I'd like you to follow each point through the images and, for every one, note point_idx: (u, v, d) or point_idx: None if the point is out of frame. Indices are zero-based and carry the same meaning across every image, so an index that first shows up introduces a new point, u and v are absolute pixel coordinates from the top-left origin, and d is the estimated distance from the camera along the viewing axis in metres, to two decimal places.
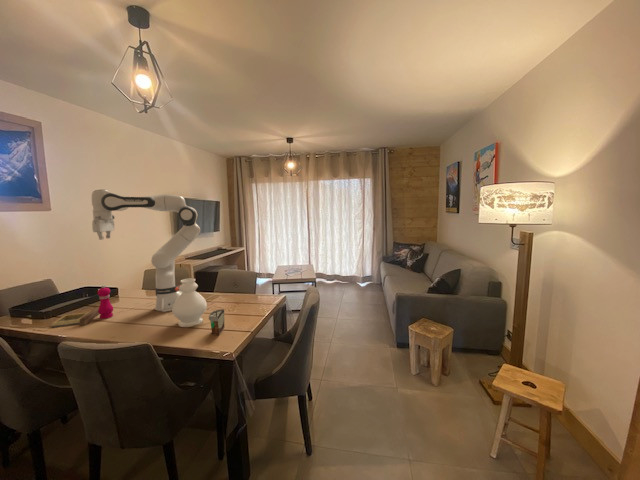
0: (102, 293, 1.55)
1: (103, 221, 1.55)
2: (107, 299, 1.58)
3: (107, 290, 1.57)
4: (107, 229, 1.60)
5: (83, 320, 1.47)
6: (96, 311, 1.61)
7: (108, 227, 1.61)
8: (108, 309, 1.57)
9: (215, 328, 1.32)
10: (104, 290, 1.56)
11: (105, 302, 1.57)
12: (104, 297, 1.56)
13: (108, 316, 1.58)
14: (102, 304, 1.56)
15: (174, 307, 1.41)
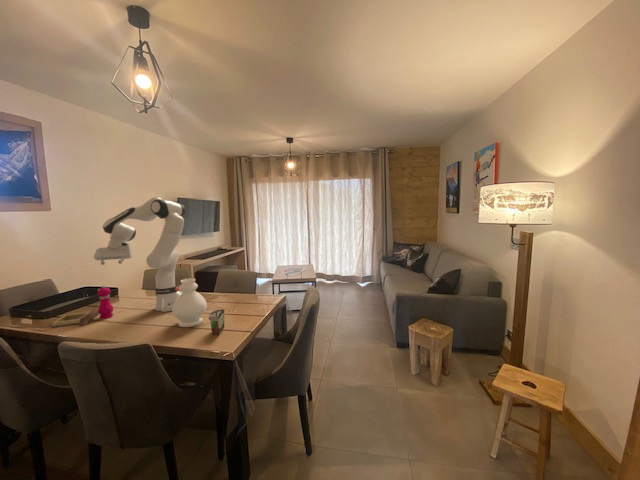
0: (102, 293, 1.55)
1: (105, 249, 1.73)
2: (107, 299, 1.58)
3: (107, 290, 1.57)
4: (111, 255, 1.72)
5: (83, 320, 1.47)
6: (96, 311, 1.61)
7: (114, 253, 1.73)
8: (108, 309, 1.57)
9: (215, 328, 1.32)
10: (104, 290, 1.56)
11: (105, 302, 1.57)
12: (104, 297, 1.56)
13: (108, 316, 1.58)
14: (102, 304, 1.56)
15: (174, 307, 1.41)
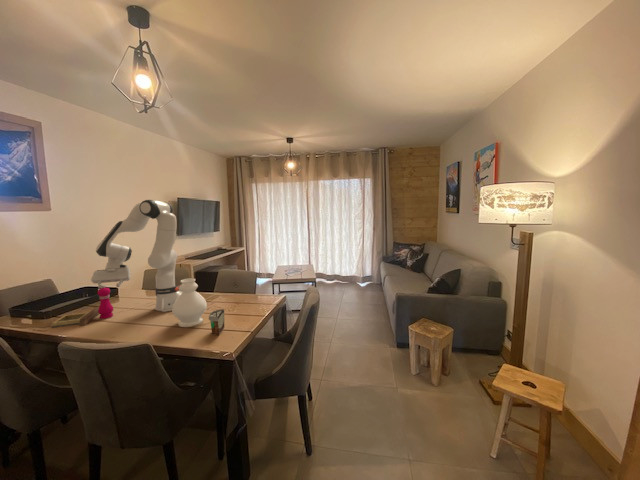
0: (102, 293, 1.55)
1: (103, 272, 1.68)
2: (107, 299, 1.58)
3: (107, 290, 1.57)
4: (109, 277, 1.67)
5: (83, 320, 1.47)
6: (96, 311, 1.61)
7: (112, 276, 1.68)
8: (108, 309, 1.57)
9: (215, 328, 1.32)
10: (104, 290, 1.56)
11: (105, 302, 1.57)
12: (104, 297, 1.56)
13: (108, 316, 1.58)
14: (102, 304, 1.56)
15: (174, 307, 1.41)
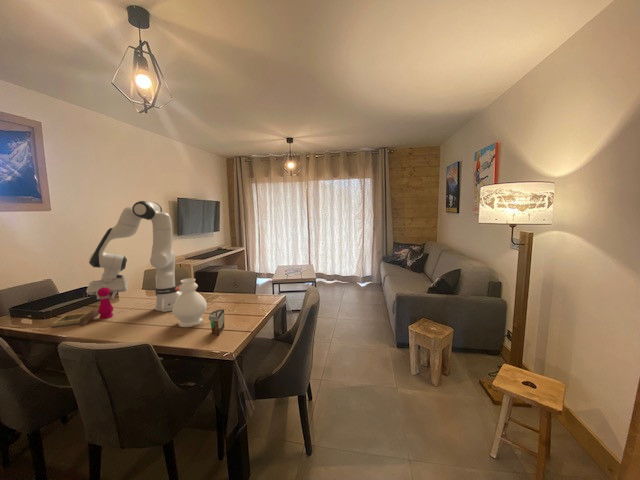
0: (102, 293, 1.55)
1: (99, 282, 1.62)
2: (107, 299, 1.58)
3: (107, 290, 1.57)
4: None
5: (83, 320, 1.47)
6: (96, 311, 1.61)
7: (109, 287, 1.62)
8: (108, 309, 1.57)
9: (215, 328, 1.32)
10: (104, 289, 1.56)
11: (105, 302, 1.57)
12: (104, 297, 1.56)
13: (108, 316, 1.58)
14: (102, 304, 1.56)
15: (174, 307, 1.41)
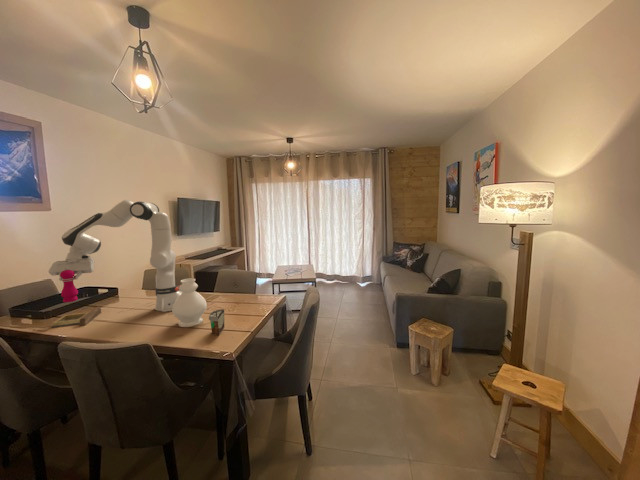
0: (64, 275, 1.48)
1: (63, 263, 1.55)
2: (71, 282, 1.51)
3: (70, 272, 1.50)
4: (69, 269, 1.54)
5: (83, 320, 1.47)
6: (96, 311, 1.61)
7: (73, 267, 1.55)
8: (71, 292, 1.50)
9: (215, 328, 1.32)
10: (67, 272, 1.49)
11: (68, 285, 1.50)
12: (67, 280, 1.49)
13: (72, 300, 1.51)
14: (65, 287, 1.50)
15: (174, 307, 1.41)
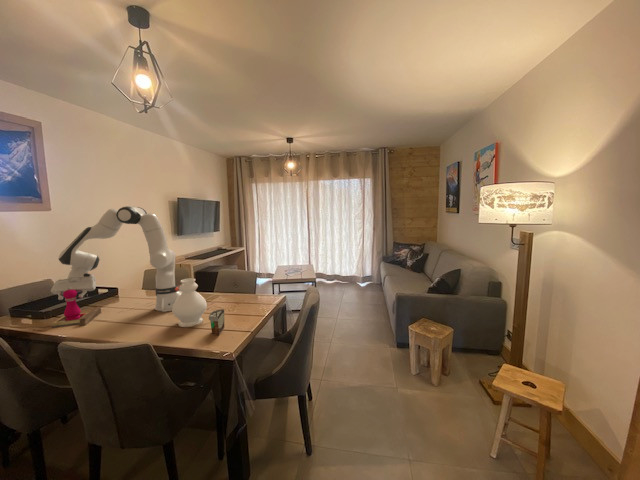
0: (67, 295, 1.50)
1: (65, 281, 1.56)
2: (73, 301, 1.53)
3: (73, 292, 1.52)
4: None
5: (83, 320, 1.47)
6: (96, 311, 1.61)
7: (75, 286, 1.56)
8: (74, 311, 1.52)
9: (215, 328, 1.32)
10: (70, 291, 1.51)
11: (71, 304, 1.52)
12: (70, 299, 1.51)
13: (74, 319, 1.52)
14: (68, 306, 1.51)
15: (174, 307, 1.41)
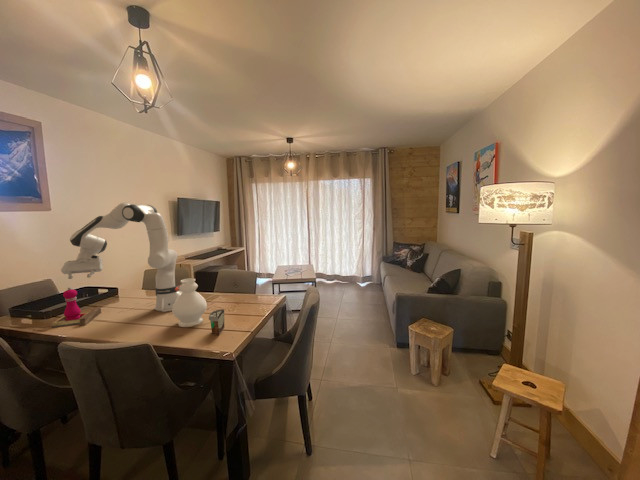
0: (67, 295, 1.50)
1: (74, 262, 1.67)
2: (73, 301, 1.53)
3: (73, 292, 1.52)
4: (80, 268, 1.65)
5: (83, 320, 1.47)
6: (96, 311, 1.61)
7: (83, 266, 1.66)
8: (74, 311, 1.52)
9: (215, 328, 1.32)
10: (70, 291, 1.51)
11: (71, 304, 1.52)
12: (70, 299, 1.51)
13: (74, 319, 1.52)
14: (68, 306, 1.51)
15: (174, 307, 1.41)
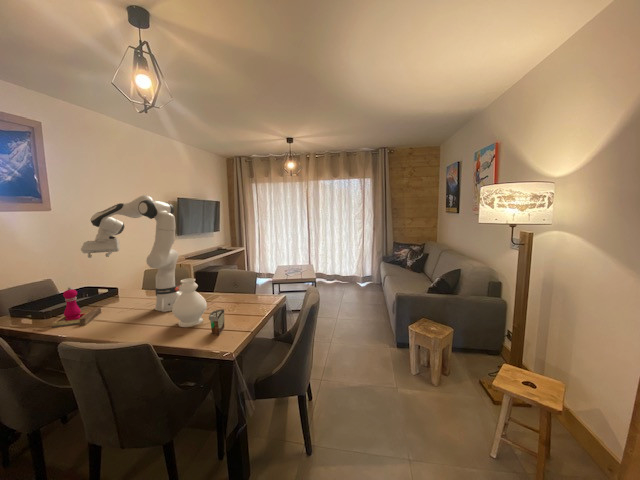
0: (67, 295, 1.50)
1: (93, 242, 1.74)
2: (73, 301, 1.53)
3: (73, 292, 1.52)
4: (99, 248, 1.72)
5: (83, 320, 1.47)
6: (96, 311, 1.61)
7: (102, 246, 1.73)
8: (74, 311, 1.52)
9: (215, 328, 1.32)
10: (70, 291, 1.51)
11: (71, 304, 1.52)
12: (70, 299, 1.51)
13: (74, 319, 1.52)
14: (68, 306, 1.51)
15: (174, 307, 1.41)
